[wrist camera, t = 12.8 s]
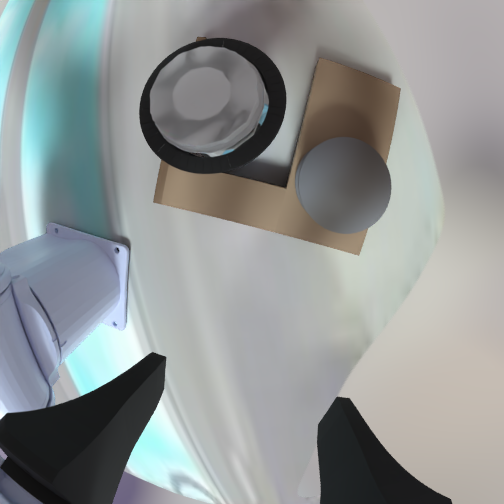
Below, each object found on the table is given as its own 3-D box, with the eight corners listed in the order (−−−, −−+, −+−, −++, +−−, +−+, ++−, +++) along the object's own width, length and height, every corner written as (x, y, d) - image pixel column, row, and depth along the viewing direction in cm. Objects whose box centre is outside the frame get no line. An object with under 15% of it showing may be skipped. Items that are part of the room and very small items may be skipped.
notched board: (161, 199, 18) (135, 207, 14) (202, 45, 15) (186, 19, 11) (352, 249, 18) (371, 268, 14) (392, 93, 15) (418, 78, 11)
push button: (242, 70, 15) (214, -14, 6) (307, 112, 16) (343, 51, 6) (185, 145, 17) (101, 125, 8) (247, 189, 18) (218, 207, 8)
